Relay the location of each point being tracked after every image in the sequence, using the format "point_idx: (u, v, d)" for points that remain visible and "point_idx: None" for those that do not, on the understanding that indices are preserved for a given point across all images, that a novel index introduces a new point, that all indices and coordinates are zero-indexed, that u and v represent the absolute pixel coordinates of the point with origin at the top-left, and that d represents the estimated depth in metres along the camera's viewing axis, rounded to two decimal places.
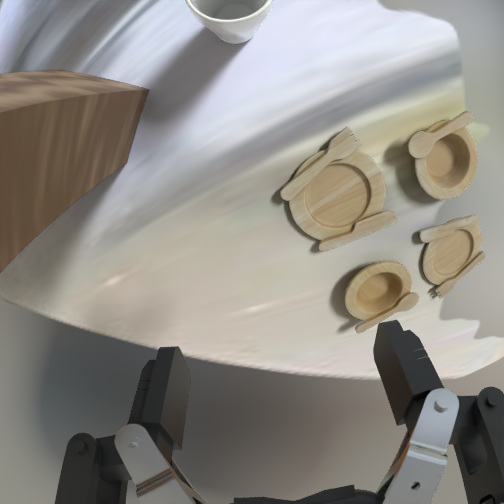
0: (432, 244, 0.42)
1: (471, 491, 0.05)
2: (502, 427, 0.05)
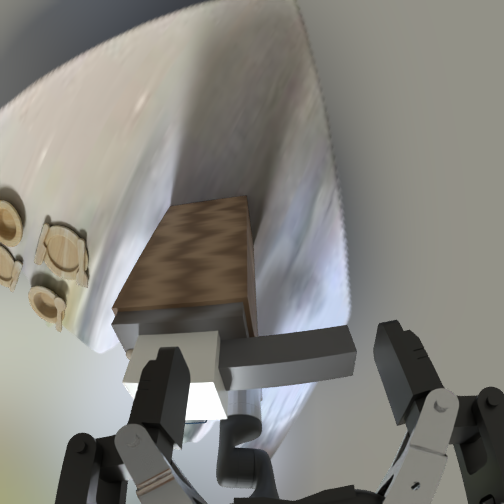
0: (12, 262, 0.58)
1: (471, 491, 0.05)
2: (502, 427, 0.05)
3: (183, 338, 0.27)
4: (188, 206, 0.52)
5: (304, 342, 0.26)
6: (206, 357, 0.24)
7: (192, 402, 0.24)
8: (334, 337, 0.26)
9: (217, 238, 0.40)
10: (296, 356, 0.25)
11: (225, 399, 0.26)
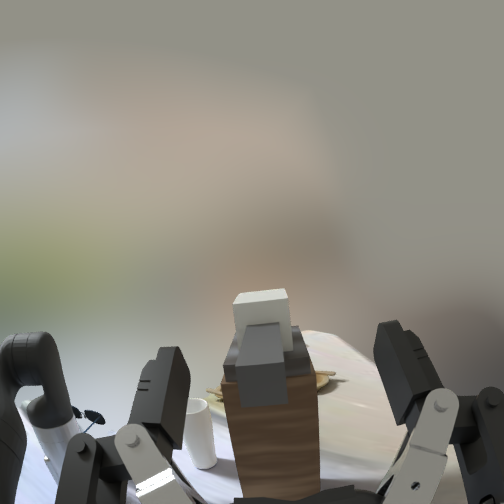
0: None
1: (471, 491, 0.05)
2: (502, 427, 0.05)
3: None
4: None
5: None
6: None
7: (262, 297, 0.35)
8: None
9: None
10: None
11: (245, 316, 0.33)
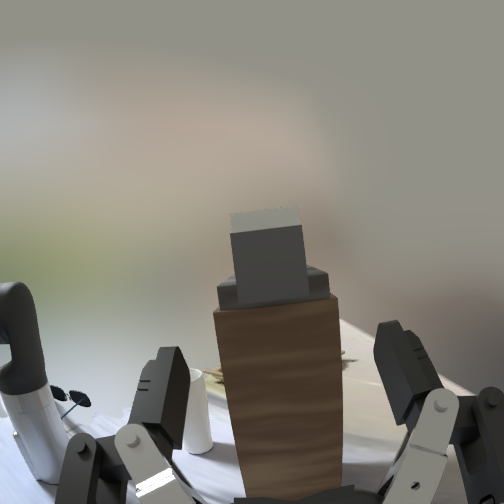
0: None
1: (471, 491, 0.05)
2: (502, 427, 0.05)
3: None
4: None
5: None
6: None
7: None
8: None
9: None
10: None
11: (245, 228, 0.27)
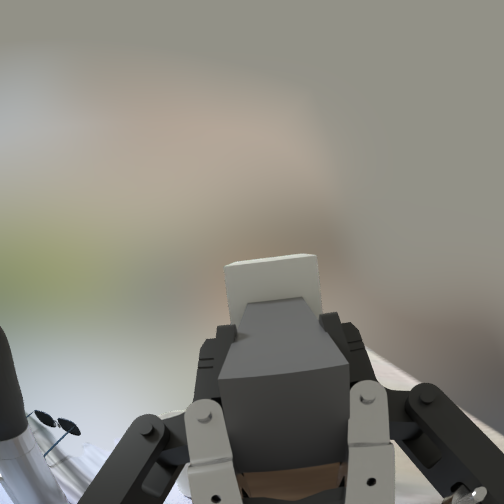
0: None
1: (437, 482, 0.06)
2: (446, 420, 0.06)
3: None
4: None
5: None
6: None
7: (271, 259, 0.22)
8: None
9: None
10: None
11: (245, 287, 0.20)
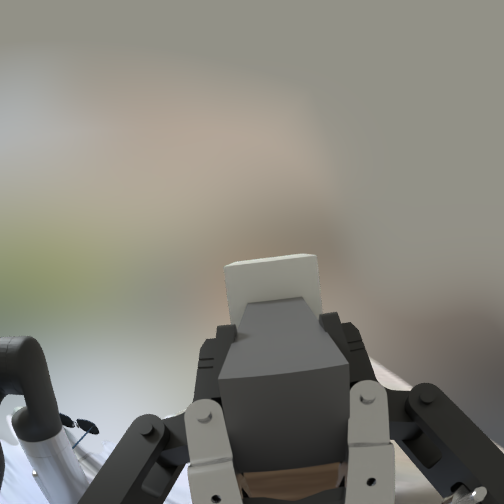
0: None
1: (437, 482, 0.06)
2: (446, 420, 0.06)
3: None
4: None
5: None
6: None
7: (271, 259, 0.22)
8: None
9: None
10: None
11: (245, 287, 0.20)
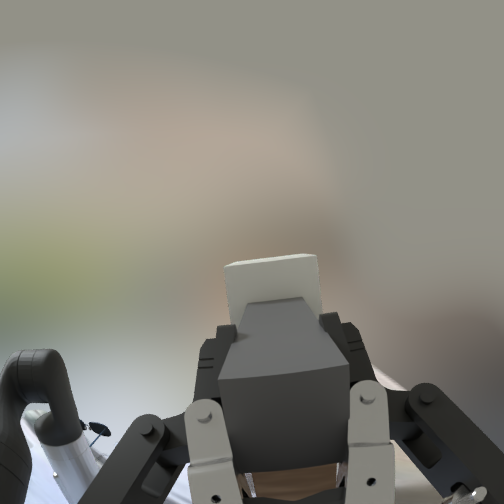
0: None
1: (437, 482, 0.06)
2: (446, 420, 0.06)
3: None
4: None
5: None
6: None
7: (271, 259, 0.22)
8: None
9: None
10: None
11: (245, 287, 0.20)
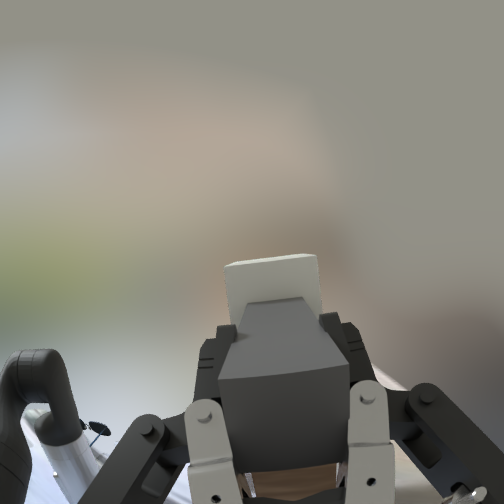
0: None
1: (437, 482, 0.06)
2: (446, 420, 0.06)
3: None
4: None
5: None
6: None
7: (272, 259, 0.22)
8: None
9: None
10: None
11: (245, 287, 0.20)
